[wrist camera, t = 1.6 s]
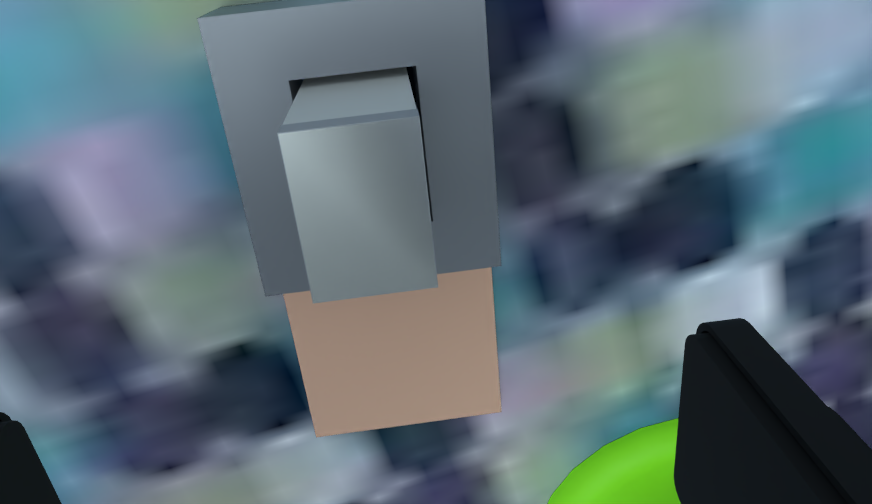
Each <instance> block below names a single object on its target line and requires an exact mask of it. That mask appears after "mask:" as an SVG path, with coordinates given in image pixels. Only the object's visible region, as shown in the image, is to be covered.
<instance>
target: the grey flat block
mask: <svg viewBox="0 0 872 504" xmlns="http://www.w3.org/2000/svg"><path fill="white" fill-rule="evenodd" d="M197 19H198V23H199V28H200V32H201V36H202V40H203V44H204V48H205V52H206V56H207V60H208V64H209V68H210V72H211V76H212V80H213V84H214V89H215V93H216V97H217V101H218V105H219V109H220V113H221V117H222V121H223V125H224V129H225V133H226V137H227V141H228V145H229V150H230V154H231V158H232V162H233V166H234V170H235V174H236V178H237V182H238V186H239V190H240V194H241V198H242V202H243V207H244V211H245V215H246V219H247V223H248V227H249V231H250V235H251V239H252V243H253V247H254V251H255V255H256V259H257V263H258V268H259V272H260V276H261V280H262V284H263V288H264V292H265V296H272V295H280V294H288V293H295V292H303V291H310V287H309V283H308V278H307V273H306V268H305V263H304V259H303V254H302V249H301V244H300V240H299V235H298V230H297V225H296V221H295V216H294V211H293V206H292V202H291V197H290V192H289V187H288V183H287V178H286V173H285V168H284V164H283V159H282V154H281V149H280V145H279V140H278V135H277V132H278V130H279V128H280V126H281V125H282V124H283V122H284V120H285V118H286V116H287V114H288V112H289V110H290V108H291V105H292V103H293V101H294V99H295V97H296V95H297V93H298V91H299V89H300V86H301V84H302V82H303V80H302V79H306V78H315V77H324V76H332V75H341V74H349V73H358V72H366V71H375V70H383V69H392V68H400V67H409V66H413V75H414V84H415V93H416V102H417V109H418V113H419V117H420V126H421V135H422V144H423V153H424V162H425V171H426V180H427V189H428V198H429V207H430V216H431V225H432V234H433V243H434V252H435V261H436V270H437V274H443V273H451V272H459V271H467V270H474V269H482V268H490V267H498V266H501V254H500V238H499V221H498V205H497V189H496V173H495V157H494V140H493V124H492V108H491V92H490V76H489V59H488V43H487V27H486V11H485V0H280V1H271V2H262V3H253V4H244V5H235V6H227V7H220V8H218V9H216V10H214V11H211V12H209V13H207V14H205V15H203V16H201V17H199V18H197Z"/></svg>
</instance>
